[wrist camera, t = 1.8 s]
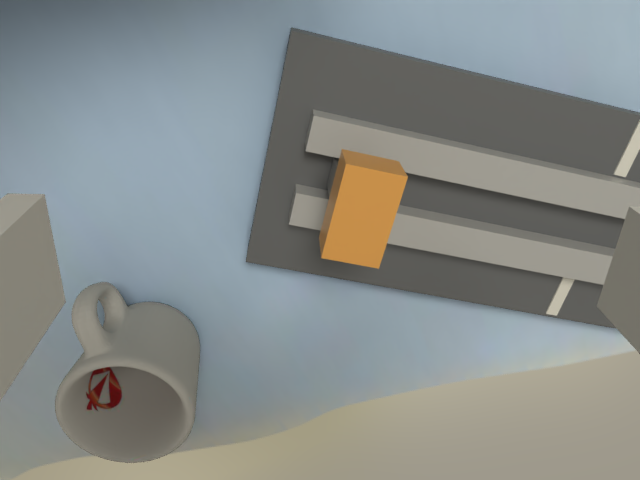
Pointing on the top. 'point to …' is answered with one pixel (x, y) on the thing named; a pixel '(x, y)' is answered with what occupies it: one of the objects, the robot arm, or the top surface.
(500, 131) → the fader console
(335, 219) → the fader knob
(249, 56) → the top surface
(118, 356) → the cup
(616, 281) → the robot arm
